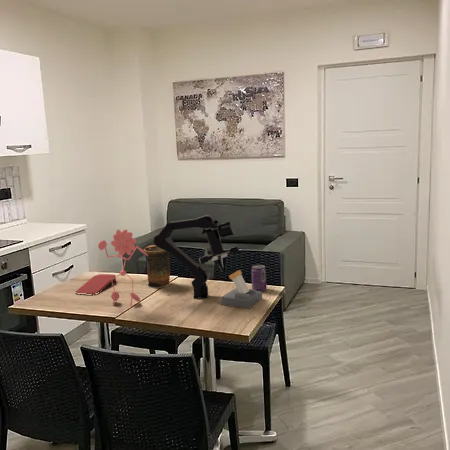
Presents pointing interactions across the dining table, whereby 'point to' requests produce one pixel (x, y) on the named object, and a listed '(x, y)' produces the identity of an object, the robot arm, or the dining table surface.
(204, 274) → the robot arm
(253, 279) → the beverage can
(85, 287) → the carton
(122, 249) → the figurine
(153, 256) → the vessel
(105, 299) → the dining table surface
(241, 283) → the lever
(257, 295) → the box
